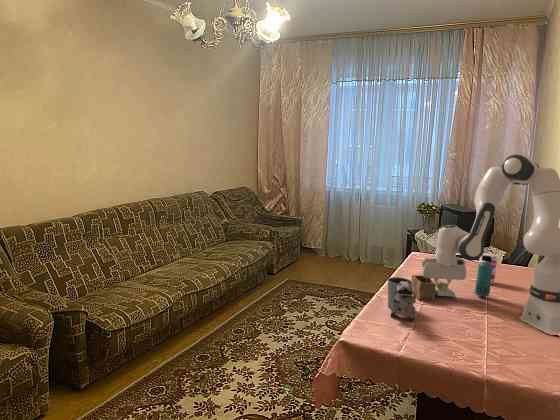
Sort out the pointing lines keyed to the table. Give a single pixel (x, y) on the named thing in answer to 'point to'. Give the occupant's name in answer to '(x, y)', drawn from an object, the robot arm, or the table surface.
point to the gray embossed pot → (394, 288)
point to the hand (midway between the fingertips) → (441, 287)
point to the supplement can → (493, 262)
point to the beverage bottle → (484, 277)
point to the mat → (444, 297)
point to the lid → (443, 290)
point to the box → (423, 288)
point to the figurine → (404, 301)
